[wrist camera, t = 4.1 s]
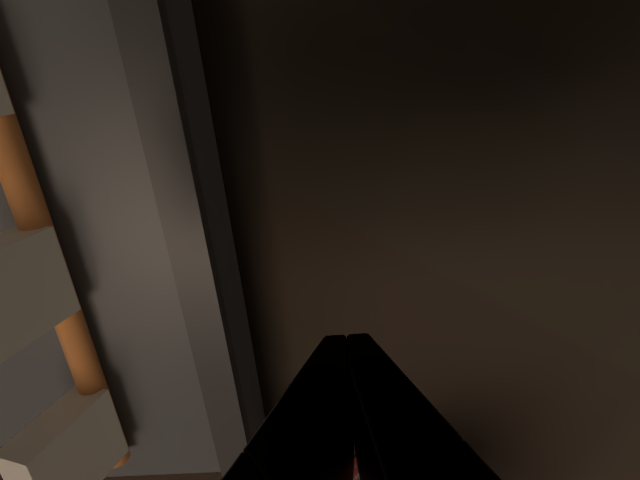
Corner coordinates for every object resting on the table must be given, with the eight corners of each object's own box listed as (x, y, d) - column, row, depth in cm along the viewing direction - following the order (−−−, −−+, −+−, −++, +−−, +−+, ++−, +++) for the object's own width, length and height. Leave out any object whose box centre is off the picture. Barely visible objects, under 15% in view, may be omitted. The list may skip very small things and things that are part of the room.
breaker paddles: (-17, -33, 11) (-216, -55, 8) (141, 452, 17) (63, 545, 14) (-56, -24, 12) (-257, -42, 9) (112, 445, 18) (30, 533, 15)
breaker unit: (174, -95, 13) (130, -133, 10) (265, 421, 20) (254, 483, 18) (-158, -56, 14) (-289, -81, 11) (48, 432, 21) (3, 494, 18)
